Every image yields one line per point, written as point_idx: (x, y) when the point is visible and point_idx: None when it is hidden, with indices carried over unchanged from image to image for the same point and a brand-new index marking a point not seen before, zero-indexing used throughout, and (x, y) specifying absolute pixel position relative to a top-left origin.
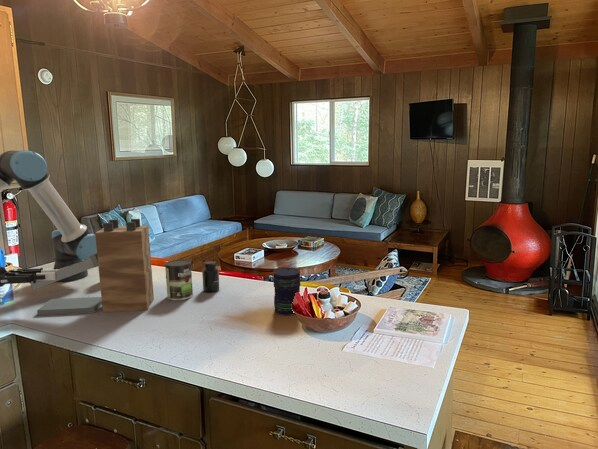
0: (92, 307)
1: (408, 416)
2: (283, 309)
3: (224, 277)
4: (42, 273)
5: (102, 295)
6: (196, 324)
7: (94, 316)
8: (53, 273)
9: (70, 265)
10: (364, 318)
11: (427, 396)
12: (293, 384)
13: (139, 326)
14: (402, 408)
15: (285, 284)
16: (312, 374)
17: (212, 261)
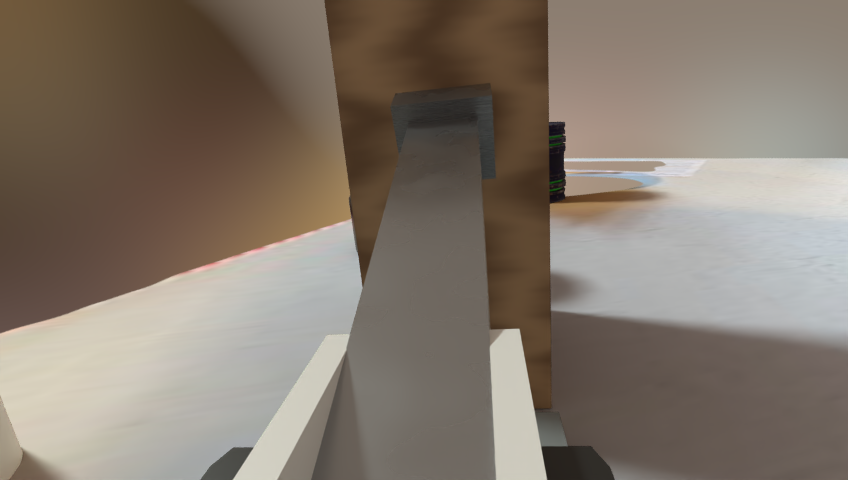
0: (558, 418)
1: (832, 160)
2: (562, 188)
3: (279, 246)
4: (541, 452)
5: (549, 319)
6: (634, 241)
7: (618, 426)
8: (520, 342)
9: (424, 215)
10: (572, 175)
11: (778, 159)
12: (827, 183)
13: (687, 299)
14: (818, 161)
15: (565, 140)
16: (782, 180)
17: None
